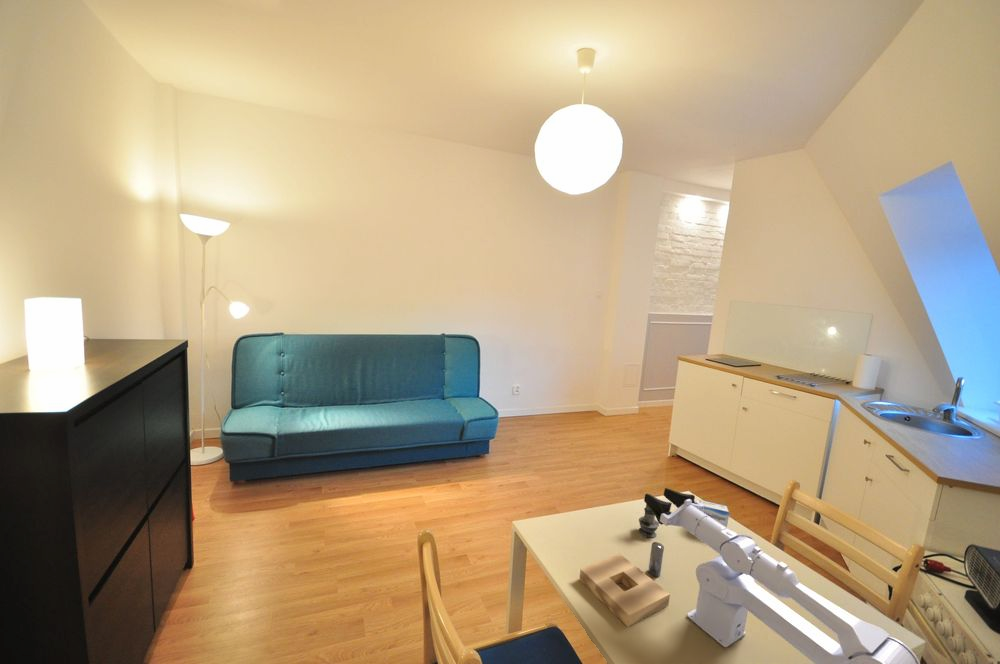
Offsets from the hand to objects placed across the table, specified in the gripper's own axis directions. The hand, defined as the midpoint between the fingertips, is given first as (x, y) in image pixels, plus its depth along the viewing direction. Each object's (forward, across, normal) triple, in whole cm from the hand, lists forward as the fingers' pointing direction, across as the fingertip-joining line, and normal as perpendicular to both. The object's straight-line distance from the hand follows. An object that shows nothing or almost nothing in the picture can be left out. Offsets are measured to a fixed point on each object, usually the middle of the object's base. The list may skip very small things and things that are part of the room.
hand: (655, 494), depth 108 cm
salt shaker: (+9, -14, +22) cm, 28 cm away
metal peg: (-4, -1, +21) cm, 22 cm away
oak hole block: (-5, +12, +22) cm, 25 cm away
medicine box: (+1, -34, +22) cm, 41 cm away
